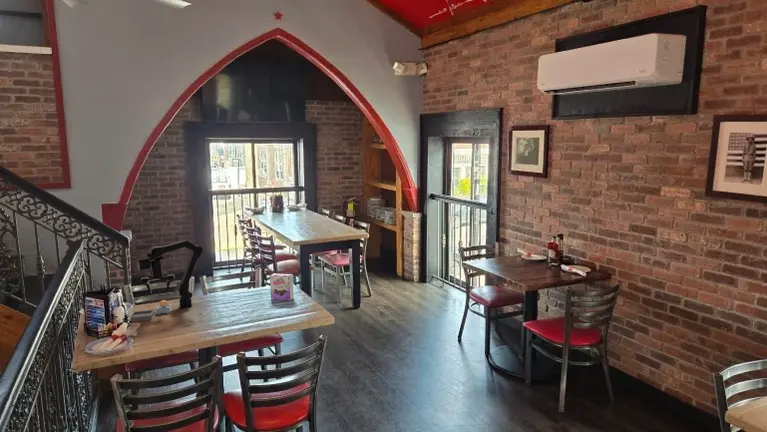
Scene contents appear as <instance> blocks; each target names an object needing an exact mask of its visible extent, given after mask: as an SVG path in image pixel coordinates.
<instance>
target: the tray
mask: <svg viewBox="0 0 767 432" xmlns="http://www.w3.org/2000/svg"><path fill="white" fill-rule="evenodd" d="M154 314H155V315H156V309H148V310H146V309H145V310H138V311H132V313H131V314H130V316H129V317H130V318H131V321H133V322H142V321H150V320H153V318H154V317H153V316H155V315H154Z"/></svg>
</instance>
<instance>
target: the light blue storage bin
mask: <svg viewBox="0 0 767 432" xmlns="http://www.w3.org/2000/svg"><path fill="white" fill-rule="evenodd" d="M170 311H172V304H171V303H170V304H168V303H167V306H166V307H161V306H160V304H159V305H157V307H156V315H162V314H161V313H167V314H171V312H170Z"/></svg>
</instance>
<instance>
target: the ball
mask: <svg viewBox="0 0 767 432" xmlns="http://www.w3.org/2000/svg"><path fill="white" fill-rule="evenodd" d="M159 305H160V306H161V307H166V306H167V305H168V301H167V299H166V300H165V299H163V300H160V302H159Z"/></svg>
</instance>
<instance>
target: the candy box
mask: <svg viewBox="0 0 767 432" xmlns="http://www.w3.org/2000/svg"><path fill="white" fill-rule="evenodd" d="M269 282H270V283H269V285H270V286H269V287H270V300H271V301H285V302H286V301H287V302H291V301H293V300H295V297H294V275H293V273H275V272H274V273H272V274H269Z"/></svg>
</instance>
